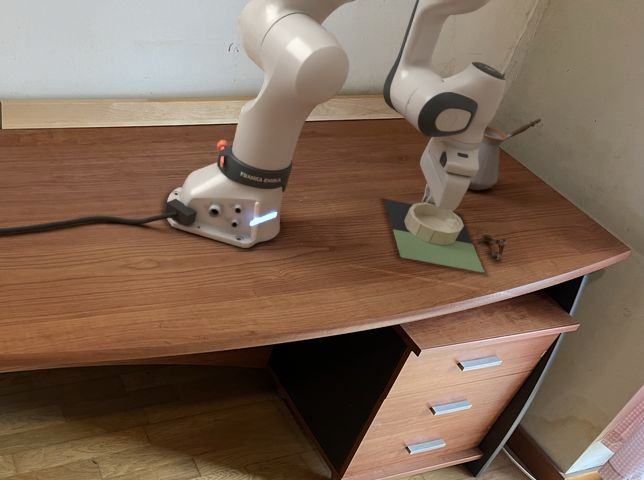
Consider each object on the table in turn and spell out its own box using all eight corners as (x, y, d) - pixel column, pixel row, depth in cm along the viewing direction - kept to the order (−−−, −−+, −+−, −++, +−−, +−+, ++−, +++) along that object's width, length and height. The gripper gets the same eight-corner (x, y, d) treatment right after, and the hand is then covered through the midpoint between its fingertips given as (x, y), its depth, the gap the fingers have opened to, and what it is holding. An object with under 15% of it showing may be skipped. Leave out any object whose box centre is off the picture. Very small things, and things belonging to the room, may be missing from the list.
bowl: (409, 239, 144) (415, 226, 142) (400, 210, 152) (406, 198, 150) (462, 248, 145) (468, 236, 143) (450, 219, 153) (456, 207, 151)
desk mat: (399, 258, 139) (400, 257, 139) (383, 200, 155) (384, 199, 155) (483, 274, 140) (484, 272, 140) (459, 215, 156) (459, 213, 156)
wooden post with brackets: (496, 261, 142) (503, 239, 141) (477, 253, 150) (483, 232, 149) (505, 262, 143) (511, 240, 141) (485, 254, 150) (491, 233, 149)
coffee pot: (468, 198, 163) (498, 137, 153) (433, 173, 170) (461, 113, 160) (529, 188, 172) (561, 130, 162) (494, 164, 179) (523, 107, 169)
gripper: (428, 121, 151) (403, 179, 160) (449, 168, 136) (421, 229, 145) (457, 127, 152) (431, 184, 161) (481, 174, 136) (451, 234, 146)
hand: (426, 206), depth 153 cm, fingers closed
